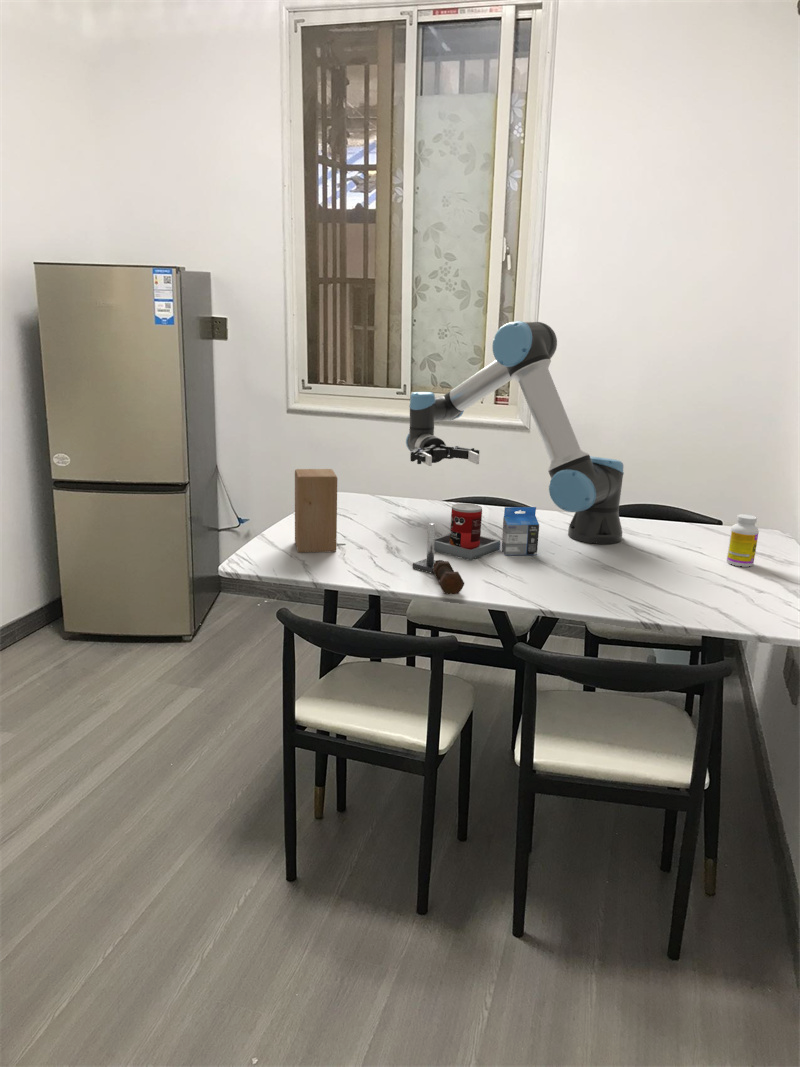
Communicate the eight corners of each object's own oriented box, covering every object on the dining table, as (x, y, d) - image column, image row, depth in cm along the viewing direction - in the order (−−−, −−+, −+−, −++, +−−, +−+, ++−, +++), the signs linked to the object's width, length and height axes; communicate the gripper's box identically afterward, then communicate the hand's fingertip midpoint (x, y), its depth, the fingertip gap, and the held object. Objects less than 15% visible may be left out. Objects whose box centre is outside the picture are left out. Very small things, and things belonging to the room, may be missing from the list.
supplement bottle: (753, 569, 203) (761, 521, 200) (726, 565, 206) (733, 517, 202) (752, 562, 209) (760, 515, 206) (725, 558, 212) (732, 512, 208)
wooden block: (297, 553, 202) (297, 476, 197) (294, 542, 212) (294, 468, 206) (336, 552, 204) (337, 476, 199) (331, 541, 214) (332, 468, 208)
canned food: (447, 542, 214) (449, 502, 211) (476, 542, 215) (478, 503, 212) (452, 550, 206) (454, 510, 203) (482, 551, 207) (485, 510, 204)
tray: (499, 549, 212) (500, 540, 211) (470, 560, 201) (471, 551, 201) (458, 539, 220) (459, 530, 219) (428, 549, 210) (429, 540, 209)
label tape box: (504, 556, 207) (508, 510, 203) (500, 551, 211) (504, 506, 207) (537, 555, 208) (541, 510, 205) (532, 551, 212) (536, 506, 209)
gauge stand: (446, 568, 195) (449, 524, 192) (432, 573, 191) (434, 528, 188) (427, 562, 199) (429, 519, 196) (412, 567, 194) (414, 523, 191)
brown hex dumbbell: (442, 580, 192) (454, 600, 178) (424, 570, 191) (436, 590, 176) (454, 560, 191) (468, 578, 177) (437, 550, 190) (449, 568, 176)
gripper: (470, 459, 238) (496, 472, 218) (390, 462, 232) (409, 475, 212) (470, 434, 236) (497, 445, 216) (390, 436, 230) (410, 447, 210)
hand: (454, 460), depth 214 cm, fingers open, 13 cm apart
